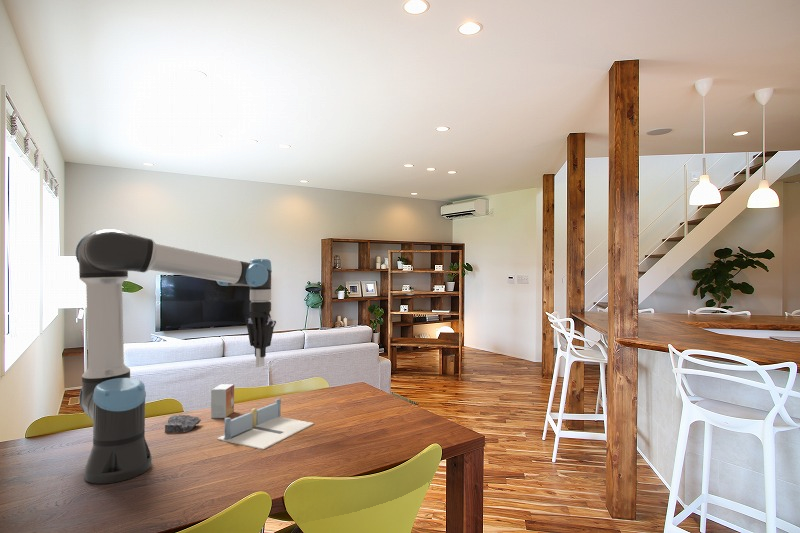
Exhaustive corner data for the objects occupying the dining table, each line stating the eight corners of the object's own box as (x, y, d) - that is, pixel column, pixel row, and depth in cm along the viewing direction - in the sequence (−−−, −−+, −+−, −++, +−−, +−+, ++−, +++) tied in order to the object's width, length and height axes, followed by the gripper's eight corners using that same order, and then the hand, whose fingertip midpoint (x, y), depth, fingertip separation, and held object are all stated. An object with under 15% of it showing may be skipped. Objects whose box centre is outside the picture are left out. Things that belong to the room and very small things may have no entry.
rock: (194, 433, 146) (194, 420, 146) (161, 434, 145) (161, 421, 145) (201, 425, 154) (201, 413, 154) (170, 426, 152) (170, 414, 152)
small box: (225, 418, 160) (226, 389, 160) (210, 418, 160) (210, 389, 160) (234, 411, 168) (234, 383, 168) (219, 411, 168) (220, 383, 168)
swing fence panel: (254, 427, 149) (254, 409, 149) (250, 426, 149) (250, 408, 149) (281, 415, 161) (281, 399, 161) (277, 414, 162) (277, 398, 162)
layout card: (263, 449, 132) (263, 448, 132) (216, 439, 140) (216, 437, 140) (313, 424, 154) (313, 422, 154) (271, 416, 162) (271, 415, 162)
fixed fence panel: (227, 441, 138) (227, 419, 138) (223, 440, 139) (223, 418, 139) (252, 430, 148) (252, 410, 148) (248, 429, 149) (248, 409, 149)
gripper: (281, 301, 162) (281, 365, 161) (254, 300, 167) (254, 362, 167) (267, 302, 155) (266, 369, 155) (239, 301, 160) (239, 366, 160)
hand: (260, 365), depth 161 cm, fingers closed
